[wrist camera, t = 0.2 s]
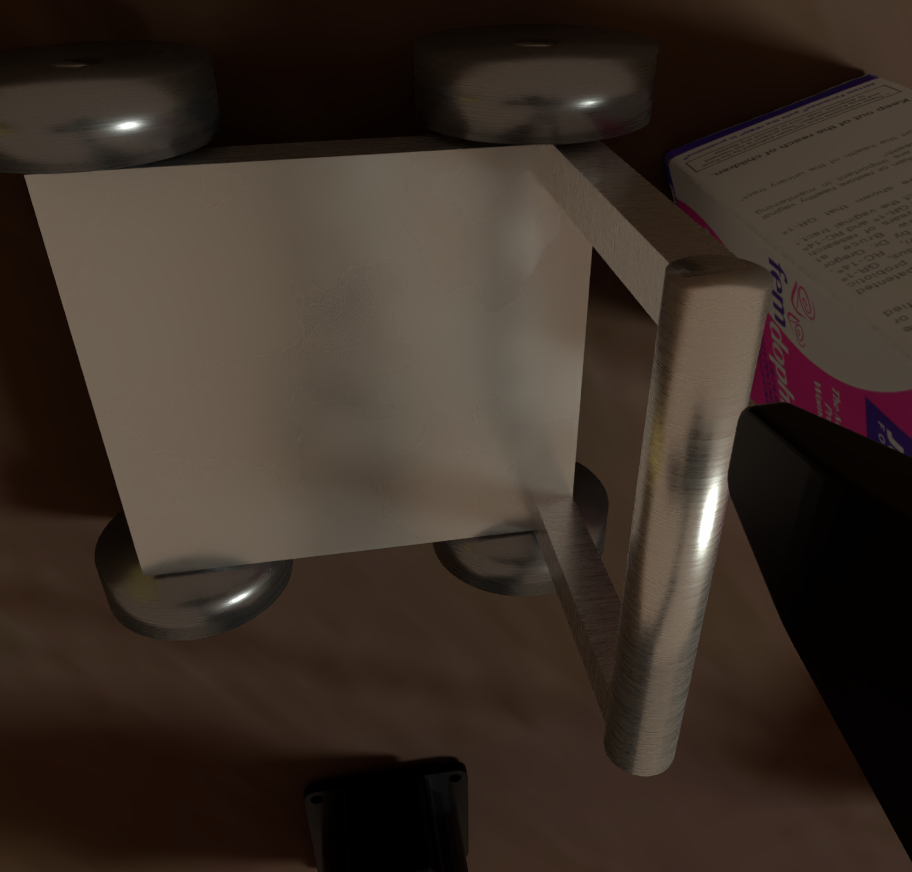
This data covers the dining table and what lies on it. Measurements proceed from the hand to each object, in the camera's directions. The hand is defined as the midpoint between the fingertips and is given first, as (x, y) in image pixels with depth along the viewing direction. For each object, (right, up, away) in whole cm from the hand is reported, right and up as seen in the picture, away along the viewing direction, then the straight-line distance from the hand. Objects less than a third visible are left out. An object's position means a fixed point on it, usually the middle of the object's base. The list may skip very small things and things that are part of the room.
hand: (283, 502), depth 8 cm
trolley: (-2, +4, +14) cm, 15 cm away
